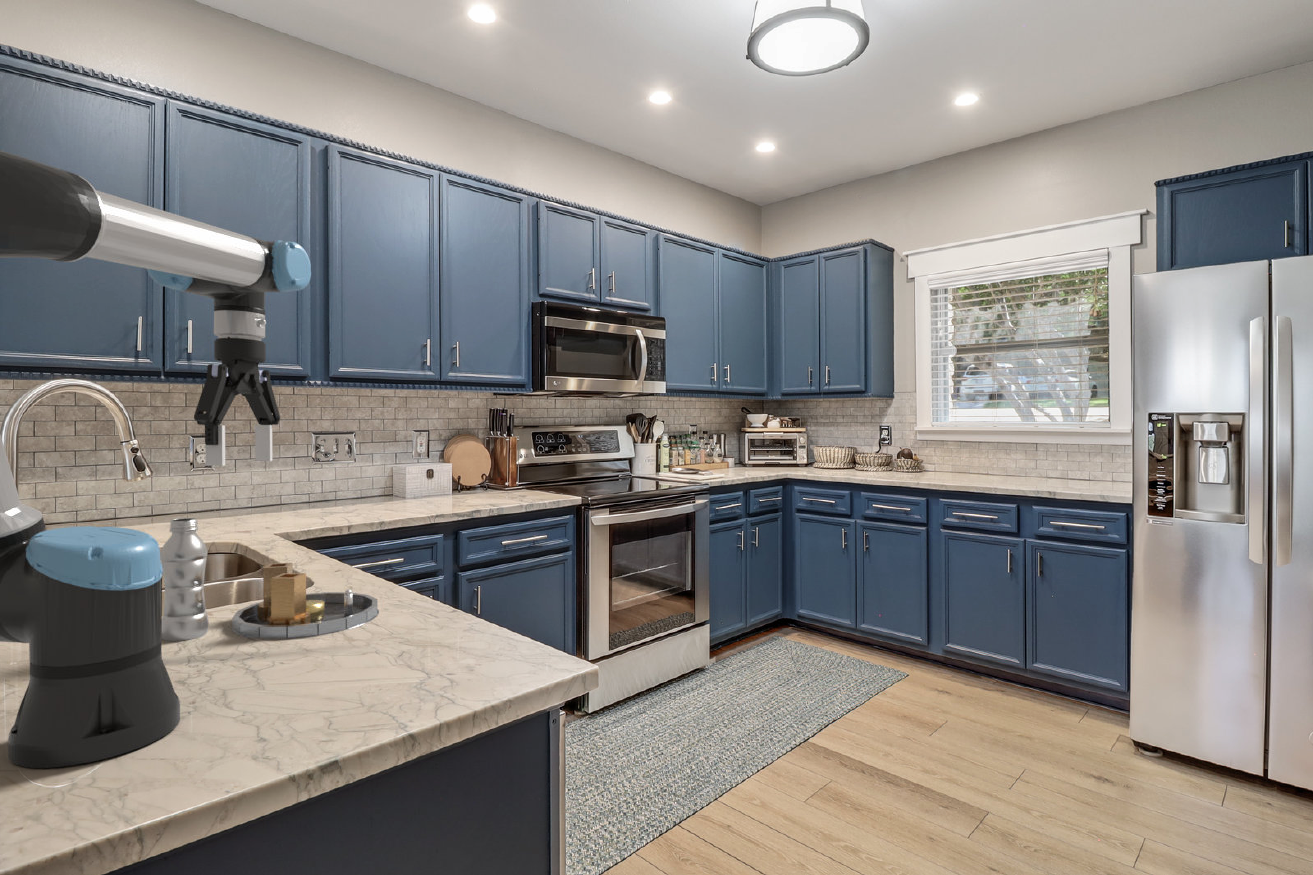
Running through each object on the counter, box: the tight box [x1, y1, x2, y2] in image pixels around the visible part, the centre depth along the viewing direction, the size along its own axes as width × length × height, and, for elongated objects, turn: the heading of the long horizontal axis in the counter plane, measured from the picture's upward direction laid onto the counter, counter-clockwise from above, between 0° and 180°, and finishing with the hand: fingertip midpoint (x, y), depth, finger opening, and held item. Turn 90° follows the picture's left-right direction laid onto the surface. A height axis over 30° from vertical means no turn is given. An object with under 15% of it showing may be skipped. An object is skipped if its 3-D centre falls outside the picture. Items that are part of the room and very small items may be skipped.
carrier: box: [231, 589, 380, 640], centre depth 121 cm, size 23×23×6 cm
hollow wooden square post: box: [267, 572, 311, 625], centre depth 114 cm, size 6×6×9 cm
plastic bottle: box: [160, 517, 210, 642], centre depth 111 cm, size 6×7×20 cm
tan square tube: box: [258, 562, 294, 620], centre depth 123 cm, size 6×6×9 cm
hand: (241, 463), depth 117 cm, fingers open, 13 cm apart
